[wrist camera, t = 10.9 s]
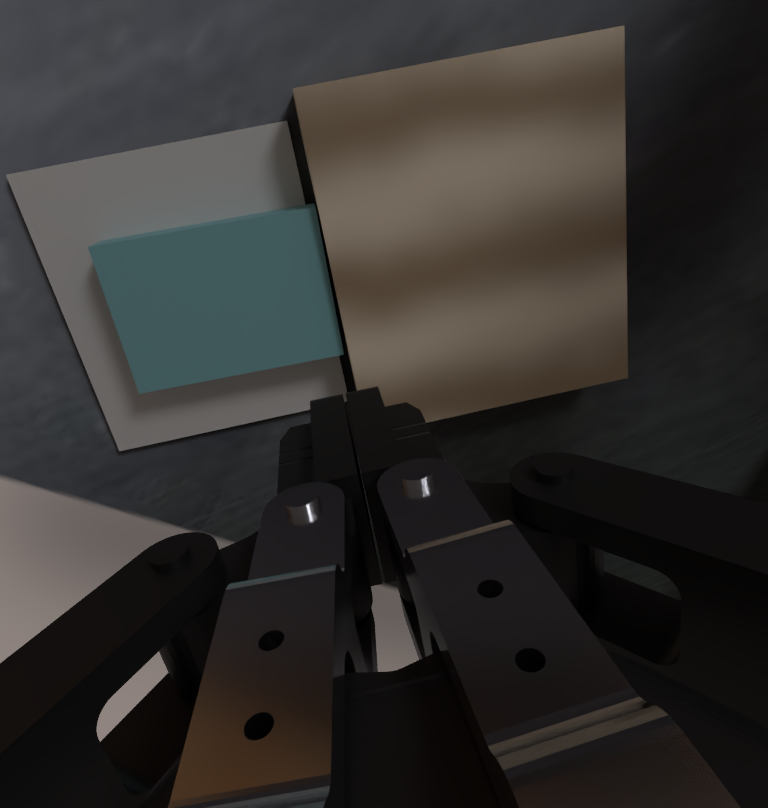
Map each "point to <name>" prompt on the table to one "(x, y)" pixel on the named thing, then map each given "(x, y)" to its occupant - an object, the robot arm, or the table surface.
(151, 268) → the tile
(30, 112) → the table surface
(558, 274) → the tan wooden board
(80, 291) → the mat
